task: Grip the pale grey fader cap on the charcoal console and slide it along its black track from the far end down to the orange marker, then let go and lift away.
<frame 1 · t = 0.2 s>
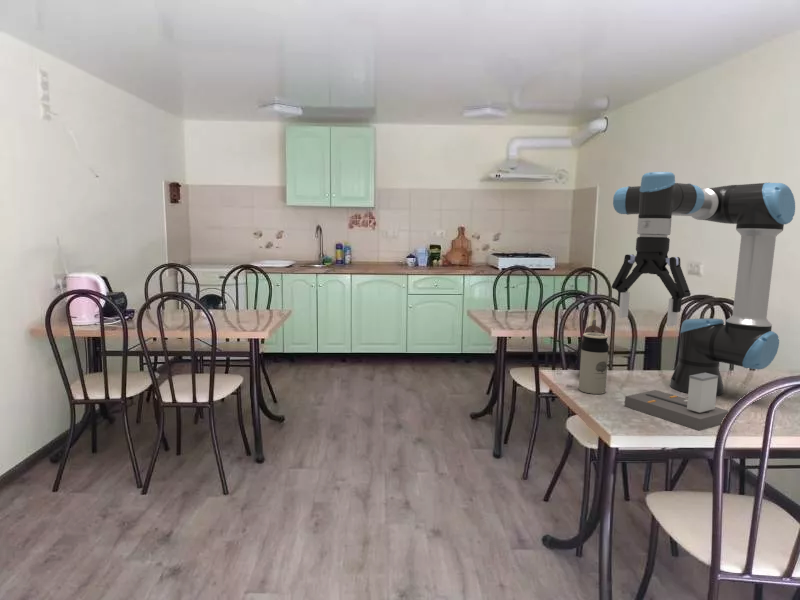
hand: (646, 321, 139), 27 cm above the table, tool pointing down, fingers open, 13 cm apart
console: (675, 413, 153), on the table
travel mug: (591, 391, 174), on the table
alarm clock: (589, 377, 191), on the table
fader: (702, 392, 146), point 8 cm above the table, slide at 14.0 cm
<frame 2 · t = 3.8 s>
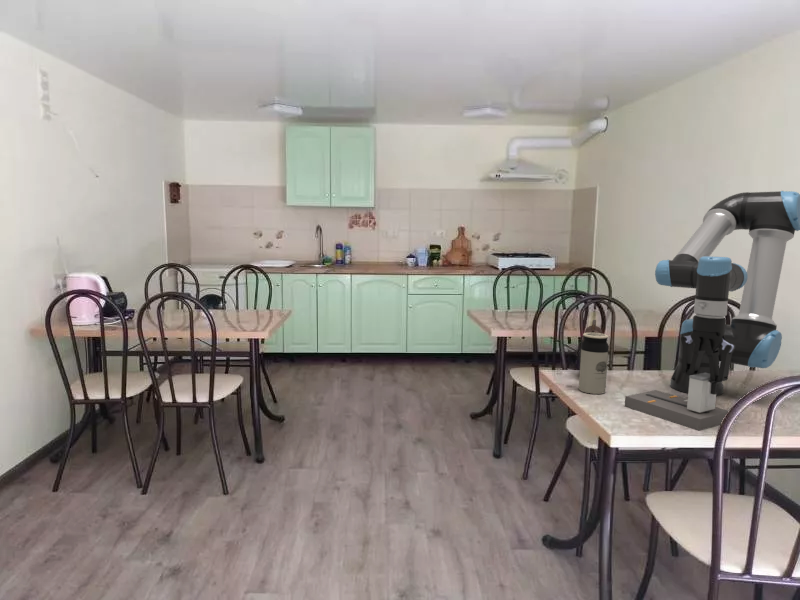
hand: (701, 403, 147), 5 cm above the table, tool pointing down, fingers closed on fader, 3 cm apart
fader: (702, 392, 146), point 8 cm above the table, slide at 14.0 cm, touching gripper
everything else where it was.
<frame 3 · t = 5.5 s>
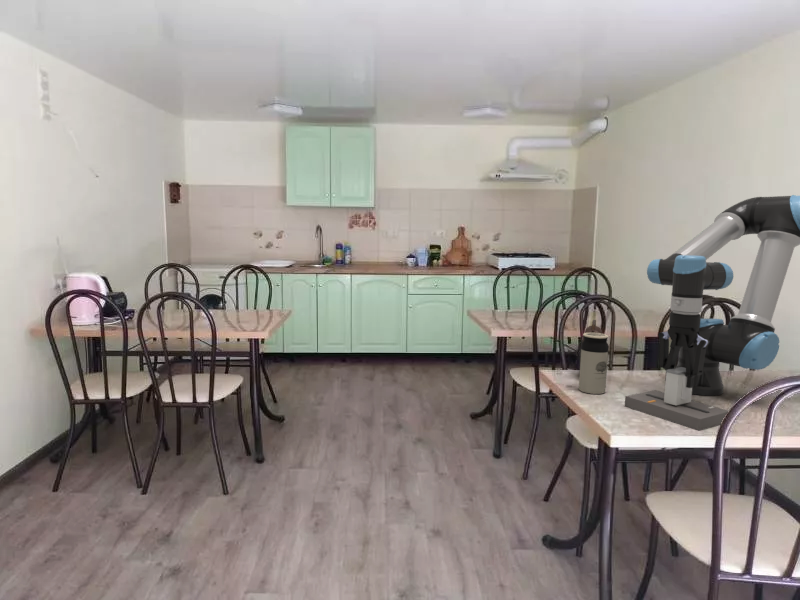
hand: (677, 396, 152), 5 cm above the table, tool pointing down, fingers closed on fader, 4 cm apart
fader: (678, 386, 152), point 8 cm above the table, slide at 7.4 cm, touching gripper
everything else where it was.
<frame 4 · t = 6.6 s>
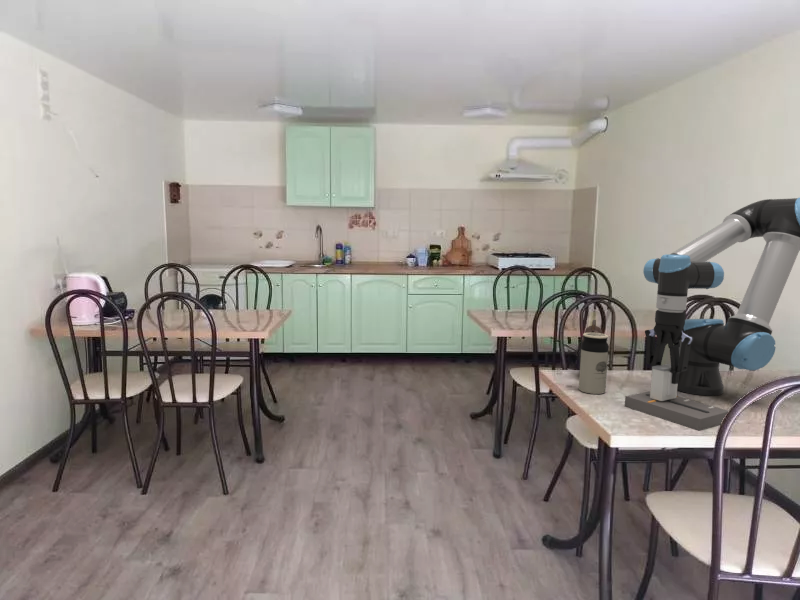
hand: (663, 392, 156), 5 cm above the table, tool pointing down, fingers closed on fader, 3 cm apart
fader: (664, 382, 155), point 8 cm above the table, slide at 3.1 cm, touching gripper
everything else where it was.
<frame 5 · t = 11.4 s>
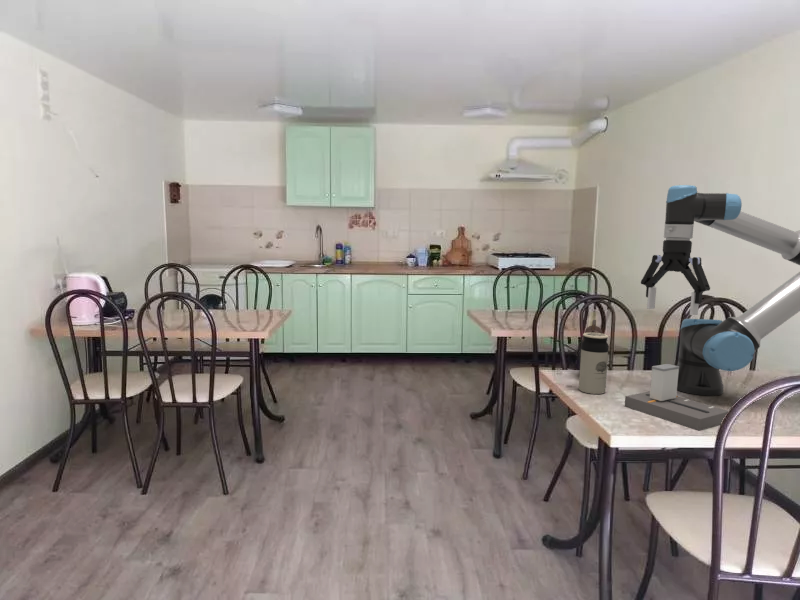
hand: (671, 311, 163), 27 cm above the table, tool pointing down, fingers open, 13 cm apart
fader: (664, 382, 155), point 8 cm above the table, slide at 3.0 cm
everything else where it was.
at the end: fader slide at 3.0 cm; the gripper is holding nothing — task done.
